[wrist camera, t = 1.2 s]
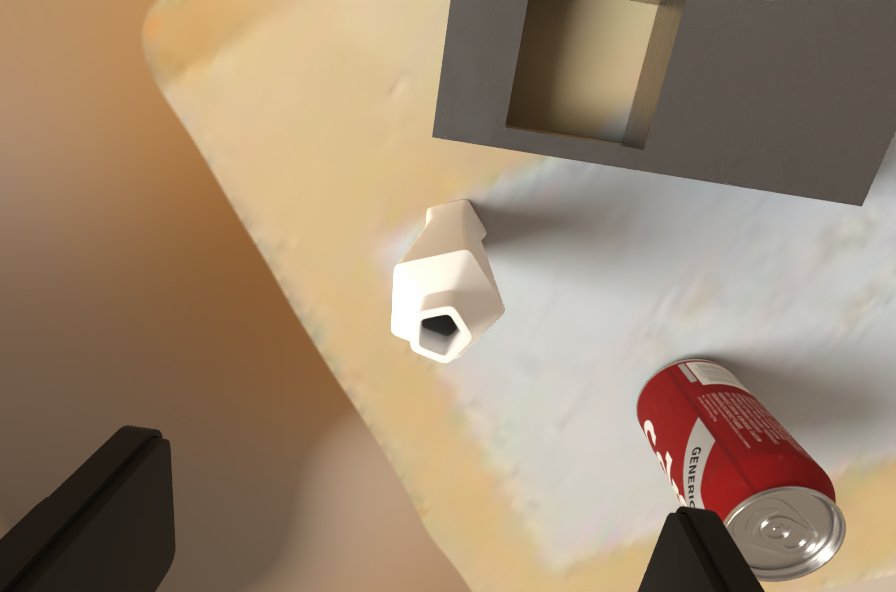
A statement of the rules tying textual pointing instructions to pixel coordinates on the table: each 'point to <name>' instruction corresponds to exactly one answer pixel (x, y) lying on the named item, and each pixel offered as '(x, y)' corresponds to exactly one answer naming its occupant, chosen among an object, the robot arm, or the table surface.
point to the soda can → (741, 468)
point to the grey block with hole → (708, 93)
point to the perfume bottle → (445, 285)
